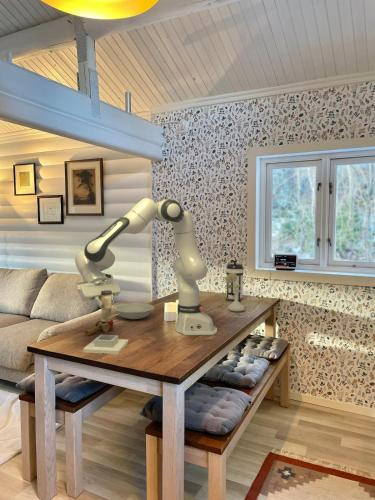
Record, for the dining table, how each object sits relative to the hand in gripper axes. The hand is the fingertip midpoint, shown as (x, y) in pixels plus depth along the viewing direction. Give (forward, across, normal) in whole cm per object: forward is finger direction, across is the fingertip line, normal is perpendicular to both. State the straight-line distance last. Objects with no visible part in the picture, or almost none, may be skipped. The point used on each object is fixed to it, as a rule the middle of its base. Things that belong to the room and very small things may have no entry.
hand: (107, 304), depth 170 cm
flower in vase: (+15, +101, +14) cm, 103 cm away
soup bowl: (-8, +43, +37) cm, 57 cm away
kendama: (-2, +12, +31) cm, 33 cm away
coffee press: (+1, +128, +27) cm, 131 cm away
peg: (+5, 0, +6) cm, 7 cm away
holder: (+14, 0, +14) cm, 20 cm away
